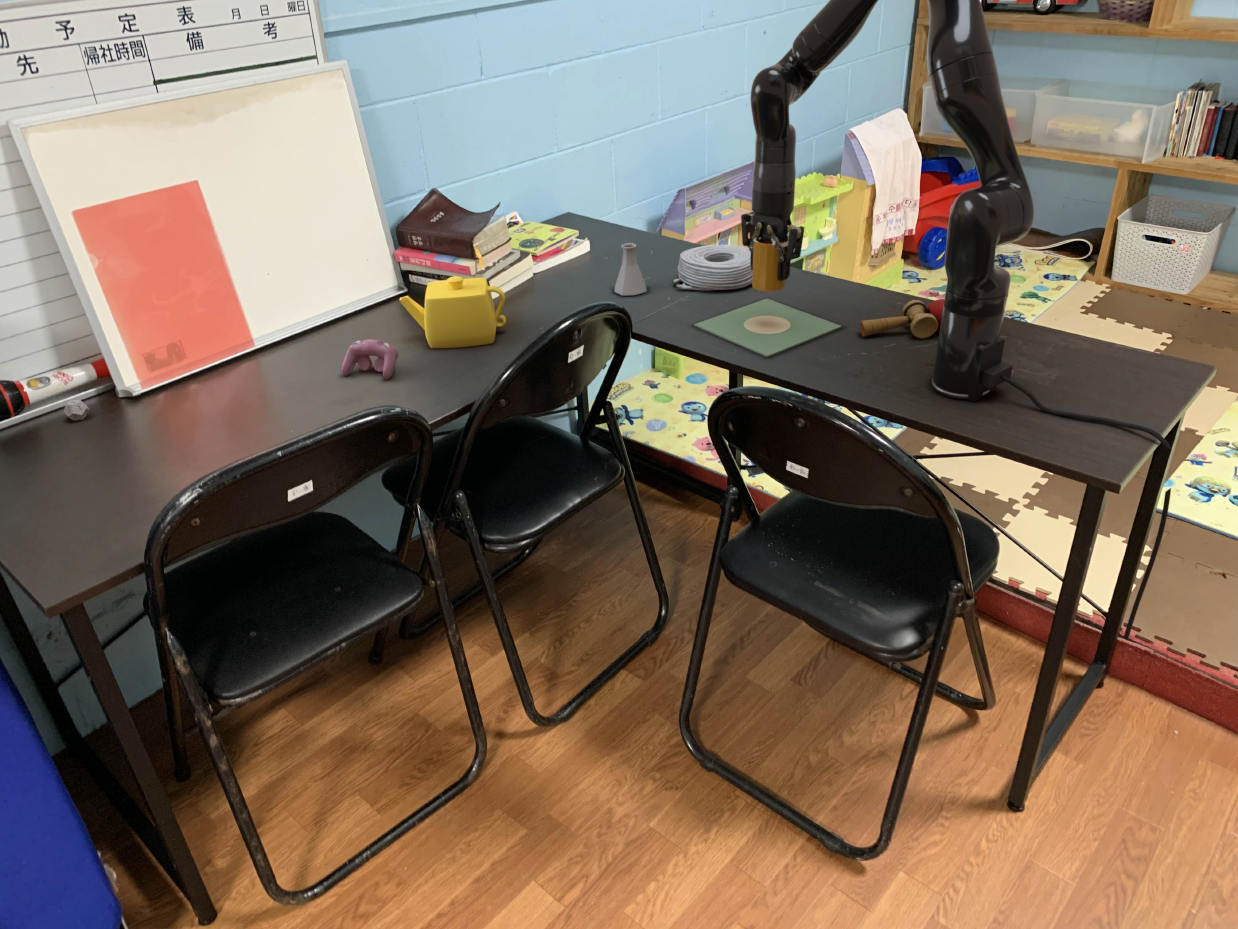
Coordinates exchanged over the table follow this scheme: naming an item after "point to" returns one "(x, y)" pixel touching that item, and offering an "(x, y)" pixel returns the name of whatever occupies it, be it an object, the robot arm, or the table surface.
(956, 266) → the robot arm
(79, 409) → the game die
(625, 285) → the flask
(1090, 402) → the table surface
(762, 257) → the cup
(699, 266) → the cable
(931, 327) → the kendama
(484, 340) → the teapot
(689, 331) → the table surface
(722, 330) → the mat
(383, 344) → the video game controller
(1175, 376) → the table surface
